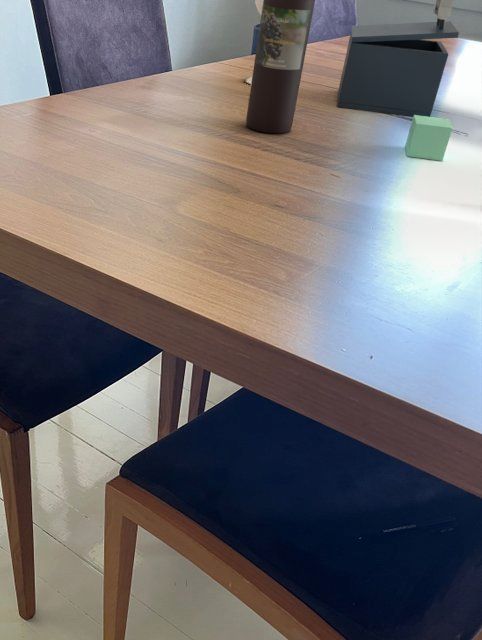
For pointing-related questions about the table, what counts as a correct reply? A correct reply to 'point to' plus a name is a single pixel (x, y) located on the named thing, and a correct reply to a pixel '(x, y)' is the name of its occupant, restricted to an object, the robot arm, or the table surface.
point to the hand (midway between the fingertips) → (440, 16)
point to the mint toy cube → (428, 137)
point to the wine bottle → (278, 64)
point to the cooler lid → (404, 31)
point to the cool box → (392, 76)
